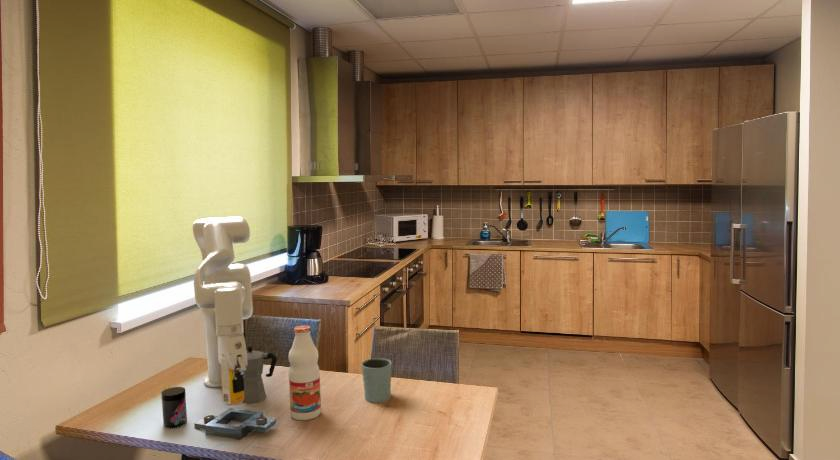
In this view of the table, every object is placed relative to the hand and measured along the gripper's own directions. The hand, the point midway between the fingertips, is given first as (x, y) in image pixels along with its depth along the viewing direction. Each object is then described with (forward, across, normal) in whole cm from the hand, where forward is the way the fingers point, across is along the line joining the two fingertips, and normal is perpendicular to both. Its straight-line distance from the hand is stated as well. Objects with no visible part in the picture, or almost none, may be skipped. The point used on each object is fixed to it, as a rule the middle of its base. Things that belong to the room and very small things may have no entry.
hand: (233, 388), depth 168 cm
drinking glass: (+13, -13, -44) cm, 48 cm away
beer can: (+5, 0, 0) cm, 5 cm away
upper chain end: (+11, -2, -2) cm, 11 cm away
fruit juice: (+13, -7, -20) cm, 25 cm away
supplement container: (+13, +16, +11) cm, 24 cm away
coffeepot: (+12, +16, -15) cm, 25 cm away
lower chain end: (+12, +3, +1) cm, 13 cm away
